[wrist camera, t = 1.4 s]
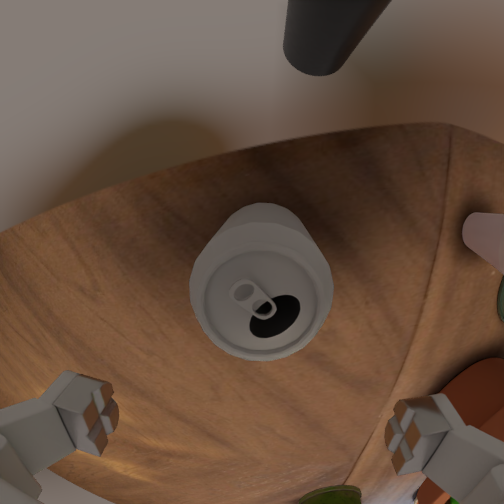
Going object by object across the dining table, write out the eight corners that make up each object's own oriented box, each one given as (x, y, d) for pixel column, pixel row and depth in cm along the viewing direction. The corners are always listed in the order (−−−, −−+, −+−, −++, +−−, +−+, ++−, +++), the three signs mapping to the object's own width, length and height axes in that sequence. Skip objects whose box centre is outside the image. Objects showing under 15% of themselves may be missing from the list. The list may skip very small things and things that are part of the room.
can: (261, 304, 27) (256, 395, 15) (200, 244, 26) (149, 302, 14) (326, 248, 25) (370, 311, 14) (265, 182, 24) (264, 191, 12)
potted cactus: (536, 364, 28) (615, 454, 4) (449, 461, 33) (492, 564, 9) (481, 315, 26) (617, 454, 2) (365, 445, 31) (404, 605, 7)
